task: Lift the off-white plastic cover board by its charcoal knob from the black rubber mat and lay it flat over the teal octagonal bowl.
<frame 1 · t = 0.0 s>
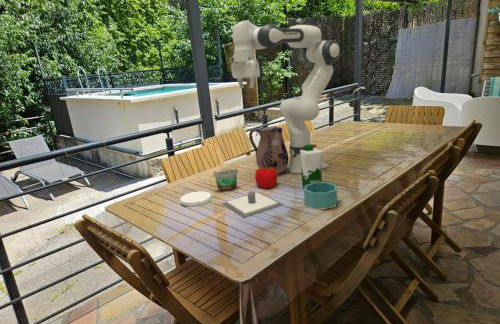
hand: (246, 87, 164), 48 cm above the table, tool pointing down, fingers open, 8 cm apart
teal octagonal bowl: (320, 203, 145), on the table
milk carton: (312, 187, 164), on the table
cover board: (252, 204, 149), resting on rubber mat
food container: (228, 190, 170), on the table
tomato: (267, 186, 170), on the table
plastic lid: (196, 202, 159), on the table
rubber mat: (252, 205, 149), on the table
ceramic pitcher: (270, 172, 192), on the table
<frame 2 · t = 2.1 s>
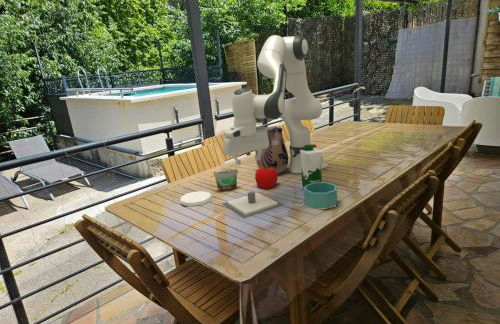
hand: (248, 162, 144), 19 cm above the table, tool pointing down, fingers open, 8 cm apart
nothing on the table moved.
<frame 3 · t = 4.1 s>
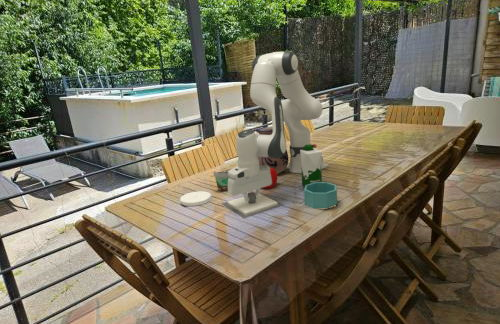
hand: (251, 199, 148), 3 cm above the table, tool pointing down, fingers closed on cover board, 3 cm apart
cover board: (252, 204, 149), resting on rubber mat, touching gripper
everything else where it was.
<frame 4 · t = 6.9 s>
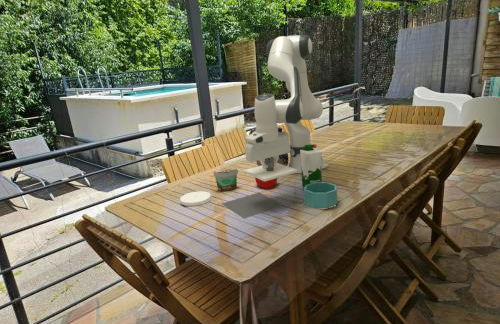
hand: (269, 167, 144), 17 cm above the table, tool pointing down, fingers closed on cover board, 3 cm apart
cover board: (270, 172, 144), point 15 cm above the table, touching gripper
everything else where it was.
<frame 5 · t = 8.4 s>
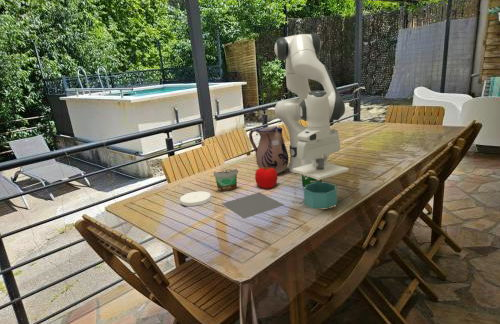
hand: (319, 165, 141), 16 cm above the table, tool pointing down, fingers closed on cover board, 3 cm apart
cover board: (320, 170, 141), point 14 cm above the table, touching gripper
everything else where it was.
when the fingers open (11 cm above the table, at t = 9.6 s): cover board drops 1 cm, resting on teal octagonal bowl.
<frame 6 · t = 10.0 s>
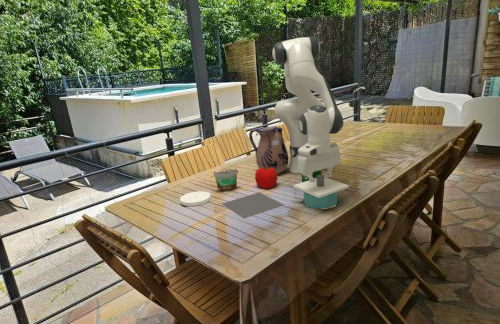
hand: (320, 179, 142), 11 cm above the table, tool pointing down, fingers open, 7 cm apart
cover board: (320, 187, 143), point 7 cm above the table, touching teal octagonal bowl
everything else where it was.
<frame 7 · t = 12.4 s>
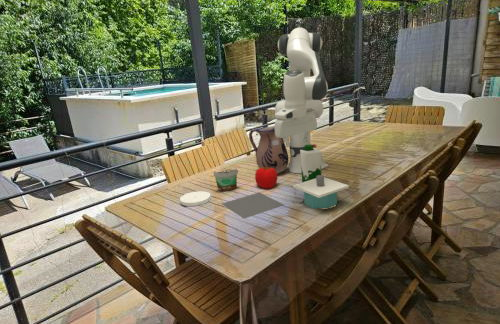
hand: (297, 144, 145), 25 cm above the table, tool pointing down, fingers open, 8 cm apart
nothing on the table moved.
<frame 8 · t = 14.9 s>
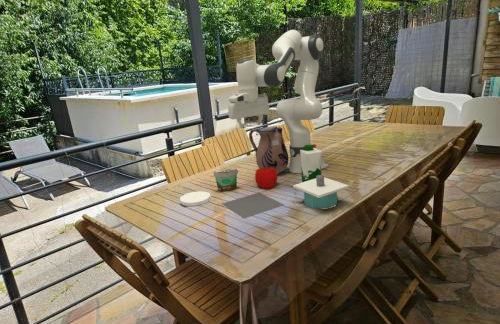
hand: (250, 126, 160), 31 cm above the table, tool pointing down, fingers open, 8 cm apart
nothing on the table moved.
at the end: cover board 0.0 cm off-centre on the teal octagonal bowl, point 7.0 cm above the teal octagonal bowl's base; cover board tilted 0°; the gripper is holding nothing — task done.
